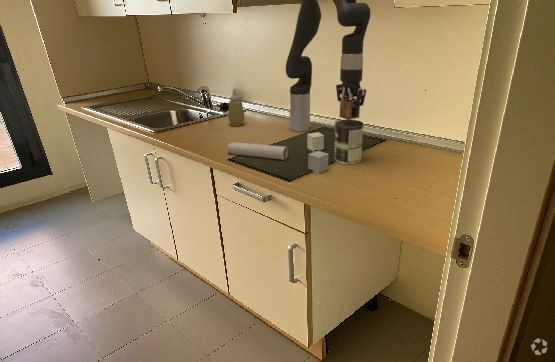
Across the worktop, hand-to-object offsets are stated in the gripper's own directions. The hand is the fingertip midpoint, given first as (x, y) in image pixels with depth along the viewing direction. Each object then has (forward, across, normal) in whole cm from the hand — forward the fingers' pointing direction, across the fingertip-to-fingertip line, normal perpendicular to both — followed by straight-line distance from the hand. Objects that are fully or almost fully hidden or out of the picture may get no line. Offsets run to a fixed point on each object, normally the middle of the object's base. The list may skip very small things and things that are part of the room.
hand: (349, 115), depth 138 cm
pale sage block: (+17, -17, -3) cm, 24 cm away
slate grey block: (+17, +2, -15) cm, 23 cm away
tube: (+17, -24, -27) cm, 40 cm away
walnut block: (+1, 0, 0) cm, 1 cm away
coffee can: (+17, 0, 0) cm, 17 cm away
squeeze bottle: (+17, -69, -15) cm, 73 cm away
